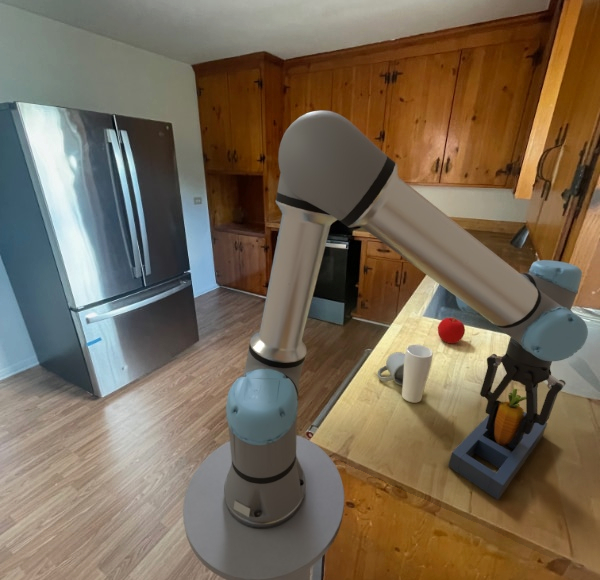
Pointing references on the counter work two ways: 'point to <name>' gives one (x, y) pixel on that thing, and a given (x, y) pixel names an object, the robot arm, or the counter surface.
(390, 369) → the ceramic mug
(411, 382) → the drinking glass
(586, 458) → the counter surface
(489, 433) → the block with rectangular holes
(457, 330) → the fruit
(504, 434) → the carrot
